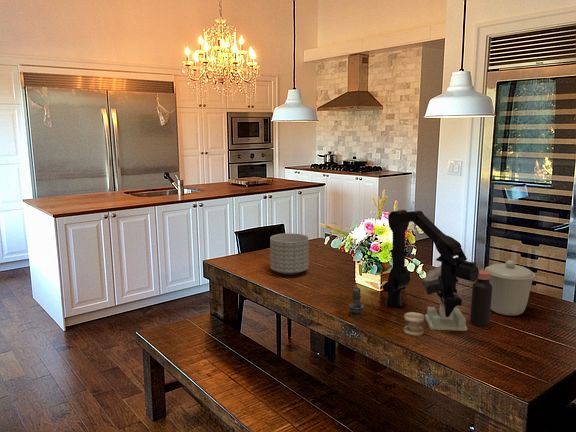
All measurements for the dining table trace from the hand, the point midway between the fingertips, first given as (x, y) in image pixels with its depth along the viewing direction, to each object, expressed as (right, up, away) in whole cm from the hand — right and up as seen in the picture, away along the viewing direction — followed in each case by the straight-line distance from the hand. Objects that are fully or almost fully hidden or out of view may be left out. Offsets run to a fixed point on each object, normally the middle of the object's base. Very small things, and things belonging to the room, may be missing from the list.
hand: (445, 314), depth 178 cm
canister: (+28, -1, +13) cm, 31 cm away
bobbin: (-14, -5, -6) cm, 16 cm away
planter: (-58, +8, +61) cm, 85 cm away
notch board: (0, -4, +1) cm, 4 cm away
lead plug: (0, -1, 0) cm, 1 cm away
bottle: (+13, -4, +2) cm, 14 cm away
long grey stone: (+16, +7, +56) cm, 59 cm away
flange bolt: (-32, -2, +10) cm, 34 cm away
